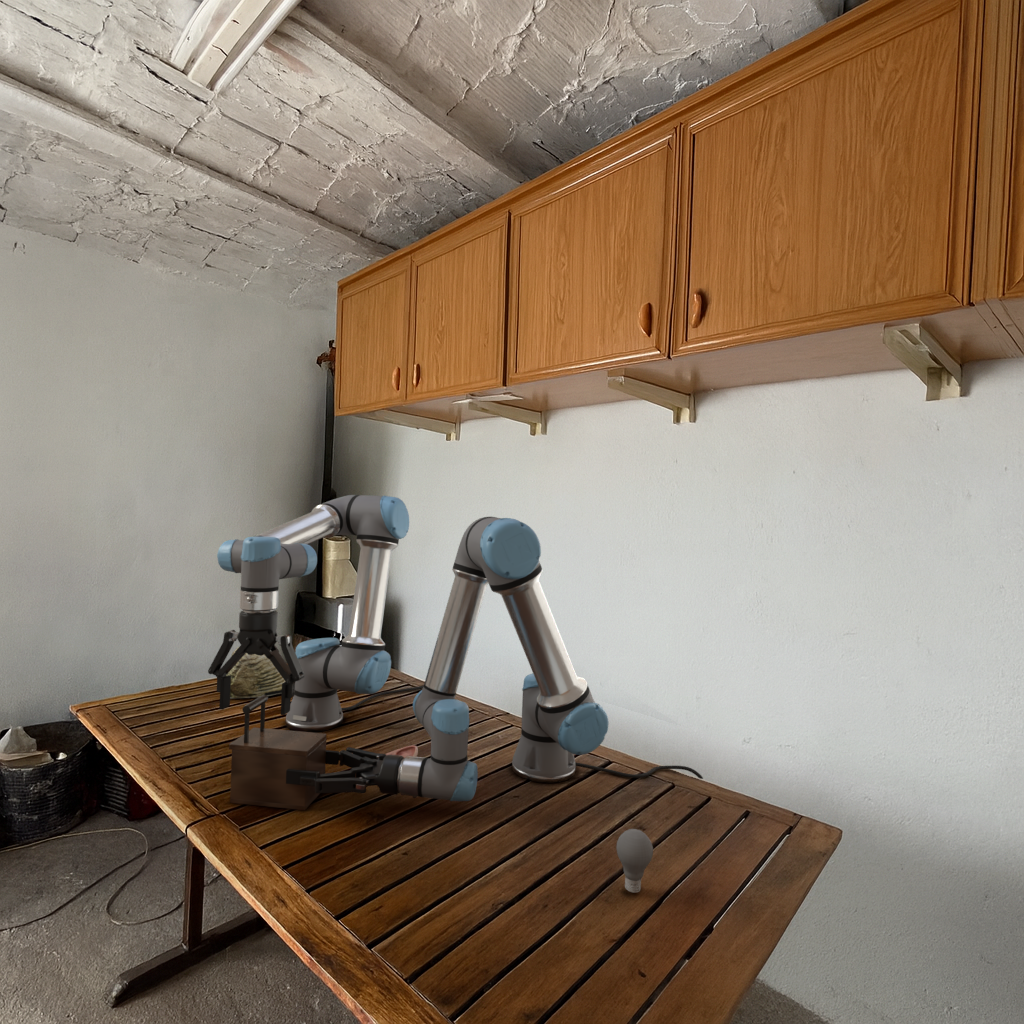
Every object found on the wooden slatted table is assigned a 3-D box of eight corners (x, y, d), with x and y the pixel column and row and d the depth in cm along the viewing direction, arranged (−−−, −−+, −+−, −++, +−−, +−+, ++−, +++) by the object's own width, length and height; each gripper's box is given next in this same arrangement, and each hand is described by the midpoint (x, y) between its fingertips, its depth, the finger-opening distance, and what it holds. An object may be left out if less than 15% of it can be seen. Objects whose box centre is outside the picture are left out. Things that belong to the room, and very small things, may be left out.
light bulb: (610, 879, 108) (613, 822, 108) (644, 879, 109) (647, 822, 109) (619, 902, 102) (622, 840, 102) (655, 901, 103) (658, 840, 103)
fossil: (218, 695, 195) (220, 647, 195) (278, 685, 208) (279, 640, 207) (228, 703, 189) (230, 653, 188) (289, 692, 201) (290, 645, 201)
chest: (229, 802, 130) (231, 749, 129) (254, 781, 139) (256, 732, 139) (304, 810, 128) (306, 756, 128) (324, 788, 138) (326, 738, 137)
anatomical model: (351, 756, 145) (372, 738, 156) (350, 773, 145) (371, 754, 156) (406, 763, 142) (423, 744, 154) (405, 780, 143) (422, 760, 154)
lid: (228, 749, 129) (230, 706, 129) (253, 732, 139) (255, 692, 139) (306, 756, 128) (308, 712, 127) (326, 738, 137) (327, 697, 137)
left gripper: (192, 609, 131) (188, 711, 132) (307, 617, 128) (303, 721, 129) (213, 603, 139) (210, 700, 139) (322, 611, 136) (318, 709, 136)
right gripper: (383, 820, 119) (271, 808, 122) (415, 770, 142) (320, 761, 144) (385, 781, 119) (273, 770, 122) (417, 737, 141) (321, 728, 144)
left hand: (254, 710), depth 134 cm, fingers open, 13 cm apart
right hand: (298, 765), depth 133 cm, fingers closed on chest, 10 cm apart
